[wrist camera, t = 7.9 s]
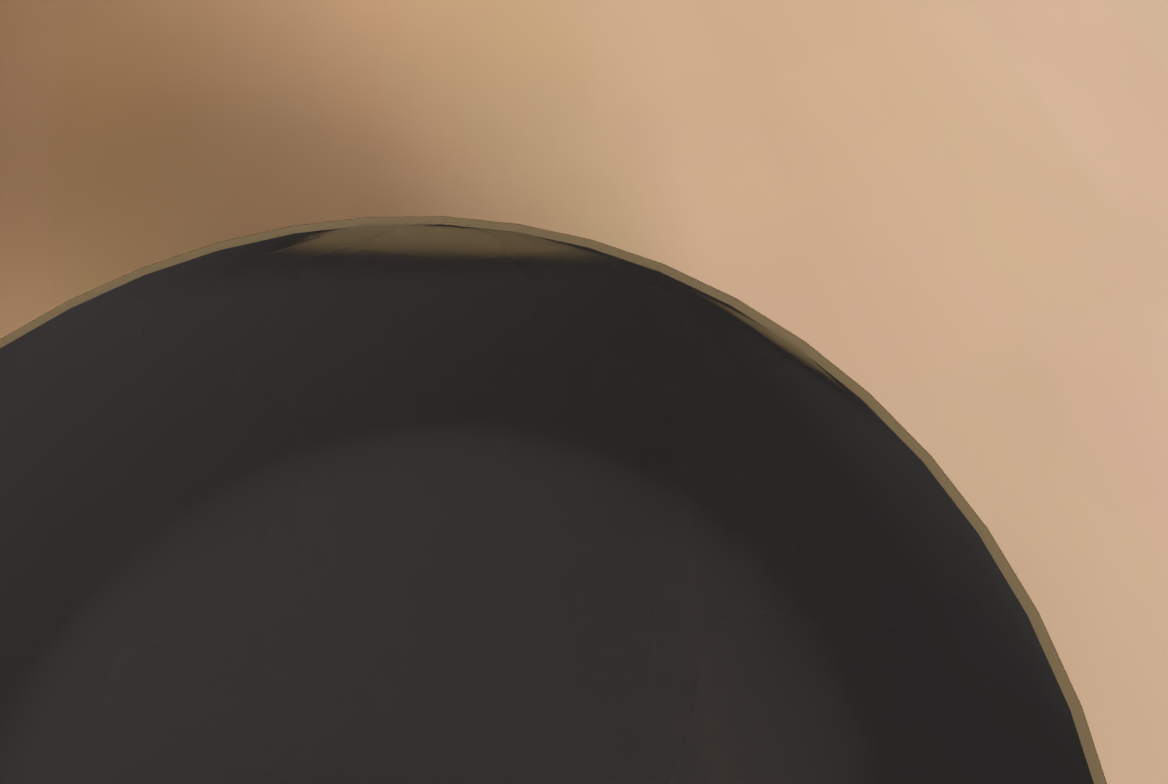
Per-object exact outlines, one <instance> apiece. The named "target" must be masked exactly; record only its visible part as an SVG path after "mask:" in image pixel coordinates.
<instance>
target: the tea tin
mask: <svg viewBox="0 0 1168 784" xmlns="http://www.w3.org/2000/svg"><path fill="white" fill-rule="evenodd" d="M0 784H1107V782H1106V779H1105V776H1104V773H1103V770H1102V767H1101V764H1100V761H1099V758H1098V755H1097V752H1096V749H1095V745H1094V742H1093V739H1092V736H1091V733H1090V730H1089V727H1088V724H1087V721H1086V718H1085V715H1084V712H1083V709H1082V706H1081V704H1080V702H1079V699H1078V697H1077V695H1076V693H1075V691H1074V689H1073V686H1072V684H1071V682H1070V680H1069V678H1068V675H1067V673H1066V671H1065V669H1064V667H1063V665H1062V662H1061V660H1060V658H1059V656H1058V654H1057V651H1056V649H1055V647H1054V645H1053V643H1052V641H1051V638H1050V636H1049V634H1048V632H1047V630H1046V627H1045V625H1044V623H1043V621H1042V619H1041V617H1040V614H1039V612H1038V611H1037V609H1036V607H1035V606H1034V604H1033V602H1032V601H1031V599H1030V597H1029V596H1028V594H1027V592H1026V591H1025V589H1024V587H1023V586H1022V584H1021V582H1020V581H1019V579H1018V578H1017V576H1016V574H1015V573H1014V571H1013V569H1012V568H1011V566H1010V564H1009V563H1008V561H1007V559H1006V558H1005V556H1004V554H1003V553H1002V551H1001V550H1000V548H999V546H998V545H997V543H996V541H995V540H994V538H993V536H992V535H991V533H990V531H989V530H988V528H987V527H986V526H985V524H984V523H983V522H982V520H981V519H980V518H979V517H978V515H977V514H976V513H975V511H974V510H973V509H972V508H971V506H970V505H969V504H968V502H967V501H966V500H965V499H964V497H963V496H962V495H961V493H960V492H959V491H958V490H957V488H956V487H955V486H954V485H953V483H952V482H951V481H950V479H949V478H948V477H947V476H946V474H945V473H944V472H943V470H942V469H941V468H940V467H939V465H938V464H937V463H936V461H935V460H934V459H933V458H932V456H931V455H930V454H929V453H928V452H927V451H926V450H925V449H924V448H923V447H922V446H921V445H920V444H919V443H918V442H917V441H916V440H915V439H914V438H913V437H912V436H911V435H910V434H909V433H908V432H907V431H906V430H905V429H904V428H903V427H902V426H901V425H900V424H899V423H898V422H897V421H896V420H895V419H894V418H893V417H892V416H891V414H890V413H889V412H888V411H887V410H886V409H885V408H884V407H883V406H882V405H881V404H880V403H879V402H878V401H877V400H876V399H875V398H874V397H873V396H872V395H871V394H870V393H869V392H867V391H866V390H865V389H864V388H862V387H861V386H860V385H859V384H857V383H856V382H855V381H854V380H852V379H851V378H850V377H849V376H847V375H846V374H845V373H844V372H842V371H841V370H840V369H839V368H837V367H836V366H835V365H834V364H832V363H831V362H830V361H829V360H827V359H826V358H825V357H824V356H822V355H821V354H820V353H819V352H817V351H816V350H815V349H814V348H812V347H811V346H810V345H809V344H808V343H806V342H805V341H804V340H802V339H801V338H799V337H797V336H796V335H794V334H792V333H791V332H789V331H788V330H786V329H784V328H783V327H781V326H780V325H778V324H776V323H775V322H773V321H772V320H770V319H768V318H767V317H765V316H764V315H762V314H760V313H759V312H757V311H756V310H754V309H752V308H751V307H749V306H748V305H746V304H744V303H743V302H741V301H740V300H738V299H736V298H735V297H733V296H730V295H728V294H726V293H724V292H722V291H720V290H718V289H716V288H713V287H711V286H709V285H707V284H705V283H703V282H701V281H699V280H697V279H694V278H692V277H690V276H688V275H686V274H684V273H682V272H680V271H678V270H675V269H673V268H671V267H669V266H667V265H665V264H662V263H659V262H656V261H653V260H650V259H647V258H644V257H641V256H638V255H635V254H632V253H629V252H626V251H623V250H621V249H618V248H615V247H612V246H609V245H606V244H603V243H600V242H597V241H594V240H590V239H586V238H581V237H576V236H572V235H567V234H562V233H558V232H553V231H549V230H544V229H539V228H535V227H530V226H525V225H521V224H513V223H503V222H493V221H484V220H474V219H464V218H454V217H365V218H357V219H348V220H340V221H331V222H322V223H314V224H305V225H296V226H290V227H286V228H281V229H277V230H272V231H268V232H263V233H259V234H254V235H250V236H245V237H241V238H236V239H232V240H227V241H223V242H218V243H215V244H212V245H209V246H206V247H203V248H200V249H197V250H194V251H191V252H188V253H185V254H182V255H179V256H176V257H173V258H170V259H167V260H164V261H161V262H158V263H155V264H152V265H149V266H146V267H143V268H140V269H138V270H136V271H134V272H131V273H129V274H127V275H125V276H122V277H120V278H118V279H116V280H113V281H111V282H109V283H107V284H105V285H102V286H100V287H98V288H96V289H93V290H91V291H89V292H87V293H84V294H82V295H80V296H78V297H75V298H73V299H71V300H69V301H67V302H65V303H63V304H61V305H59V306H58V307H56V308H54V309H52V310H51V311H49V312H47V313H45V314H44V315H42V316H40V317H38V318H37V319H35V320H33V321H31V322H30V323H28V324H26V325H24V326H23V327H21V328H19V329H17V330H16V331H14V332H12V333H10V334H8V335H7V336H5V337H3V338H1V339H0Z"/></svg>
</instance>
